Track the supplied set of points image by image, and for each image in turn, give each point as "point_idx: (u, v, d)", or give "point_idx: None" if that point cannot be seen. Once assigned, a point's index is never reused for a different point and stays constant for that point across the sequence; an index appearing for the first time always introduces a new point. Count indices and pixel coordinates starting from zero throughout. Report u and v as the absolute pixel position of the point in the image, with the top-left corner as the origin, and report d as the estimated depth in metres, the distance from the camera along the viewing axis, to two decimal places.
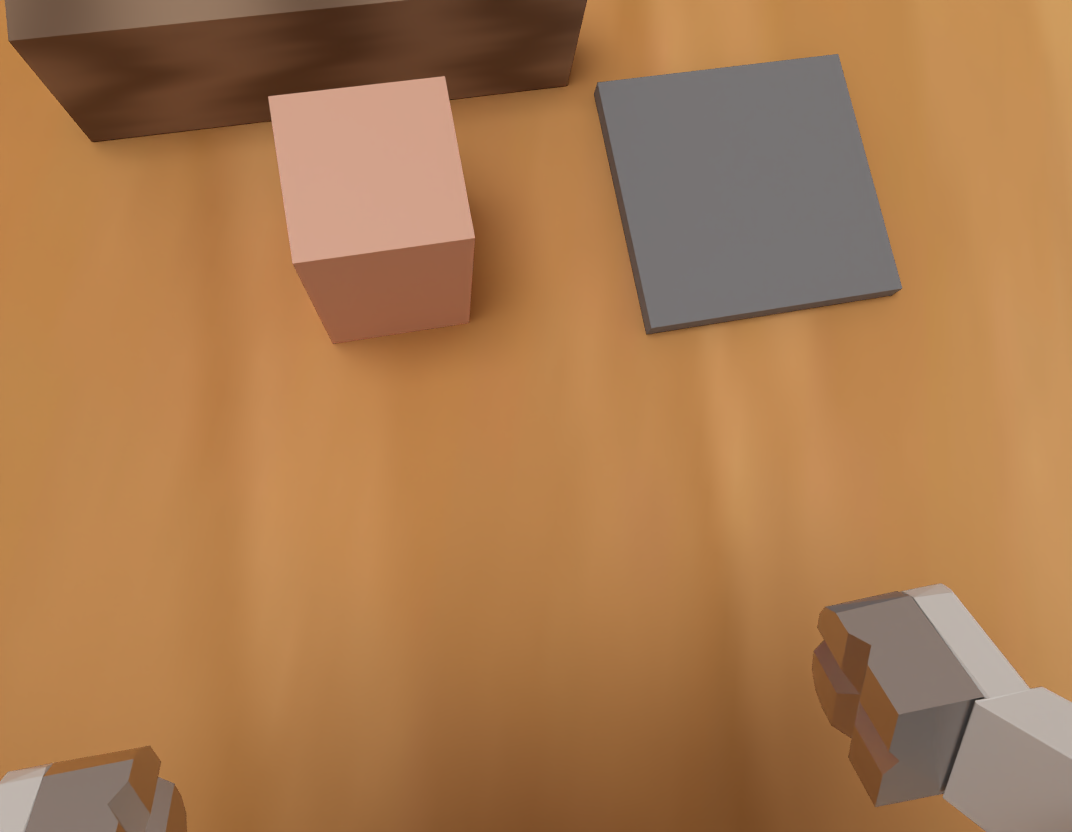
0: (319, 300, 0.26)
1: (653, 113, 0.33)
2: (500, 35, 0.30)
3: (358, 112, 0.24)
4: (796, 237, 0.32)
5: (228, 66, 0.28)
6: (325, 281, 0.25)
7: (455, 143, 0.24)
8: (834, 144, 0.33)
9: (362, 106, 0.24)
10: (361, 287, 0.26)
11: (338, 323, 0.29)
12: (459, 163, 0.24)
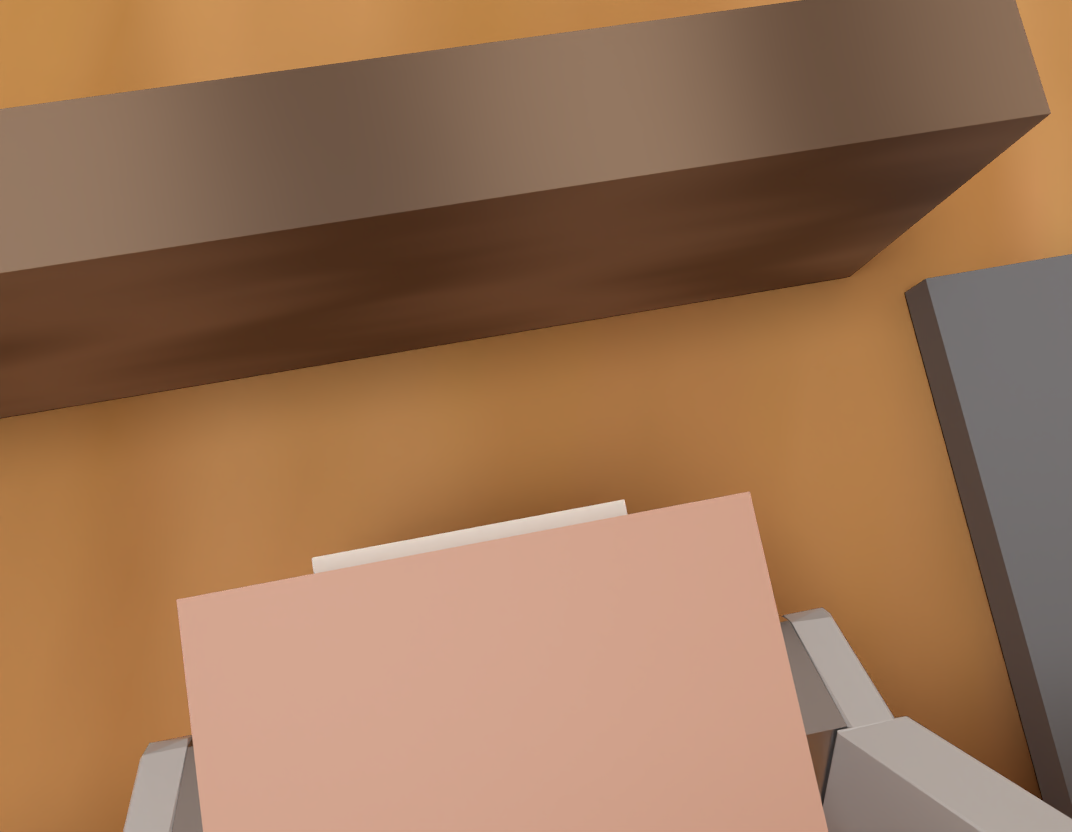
0: None
1: (1046, 342, 0.16)
2: (769, 223, 0.13)
3: (476, 641, 0.07)
4: None
5: (133, 327, 0.12)
6: None
7: (800, 739, 0.07)
8: None
9: (489, 618, 0.07)
10: None
11: None
12: (820, 817, 0.07)
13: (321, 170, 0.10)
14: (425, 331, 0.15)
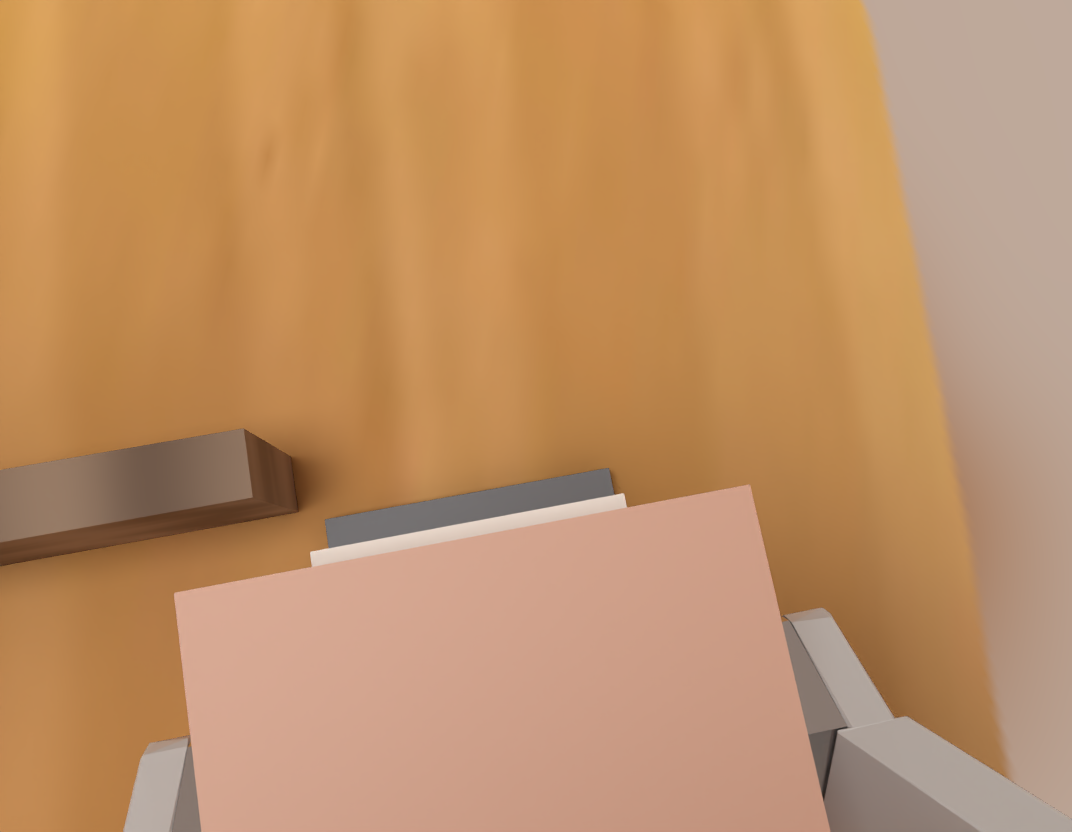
0: None
1: None
2: (177, 520, 0.26)
3: (475, 634, 0.07)
4: None
5: None
6: None
7: (801, 732, 0.07)
8: None
9: (488, 611, 0.07)
10: None
11: None
12: (820, 811, 0.07)
13: None
14: (40, 555, 0.28)
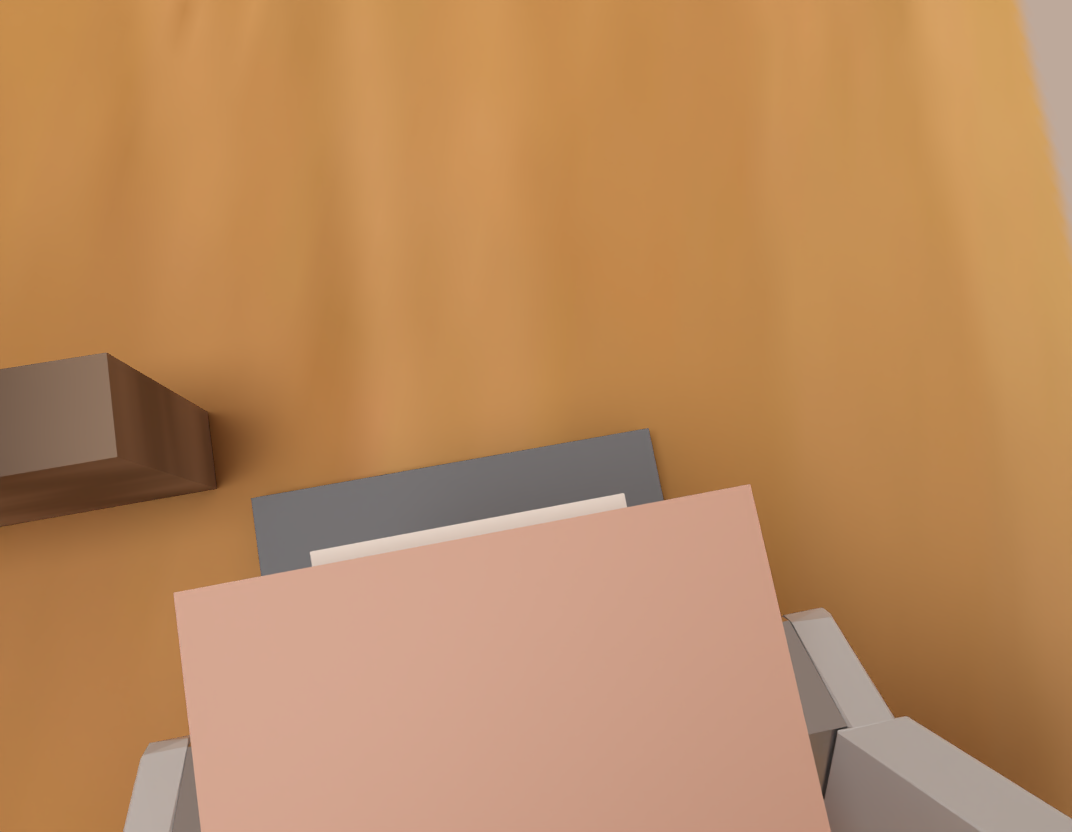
0: None
1: None
2: (20, 496, 0.18)
3: (475, 634, 0.07)
4: None
5: None
6: None
7: (801, 732, 0.07)
8: None
9: (488, 611, 0.07)
10: None
11: None
12: (821, 811, 0.07)
13: None
14: None
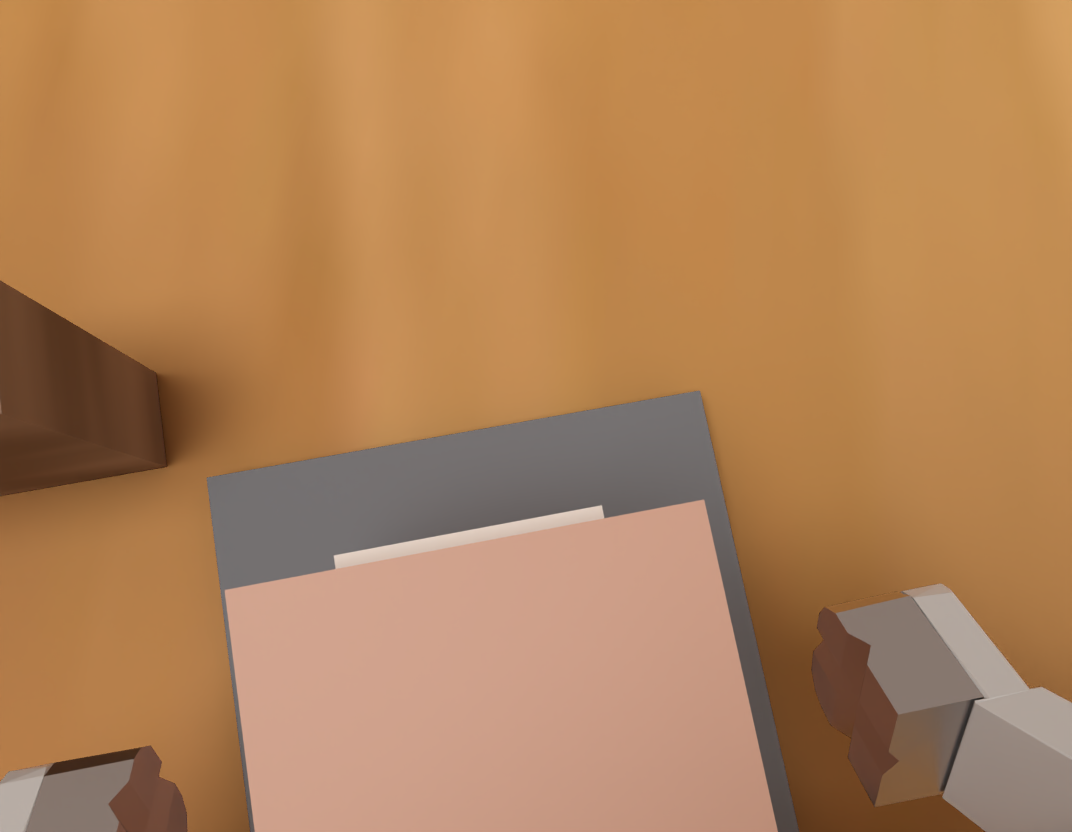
0: None
1: (317, 538, 0.16)
2: None
3: (474, 624, 0.09)
4: None
5: None
6: None
7: (744, 706, 0.09)
8: None
9: (485, 605, 0.09)
10: None
11: None
12: (760, 770, 0.08)
13: None
14: None
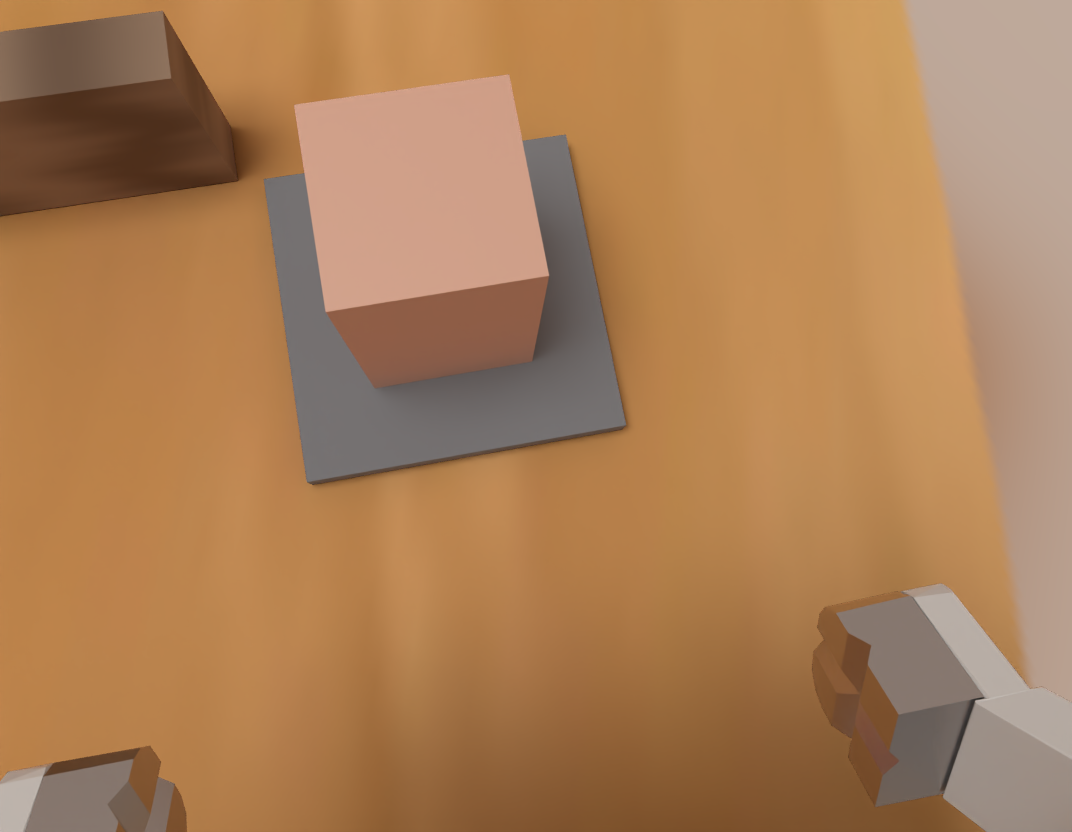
0: (358, 348, 0.22)
1: None
2: (98, 138, 0.24)
3: (404, 122, 0.19)
4: None
5: None
6: (365, 328, 0.20)
7: (523, 157, 0.19)
8: (553, 247, 0.28)
9: (408, 114, 0.20)
10: (408, 333, 0.21)
11: (381, 369, 0.24)
12: (528, 182, 0.19)
13: None
14: None
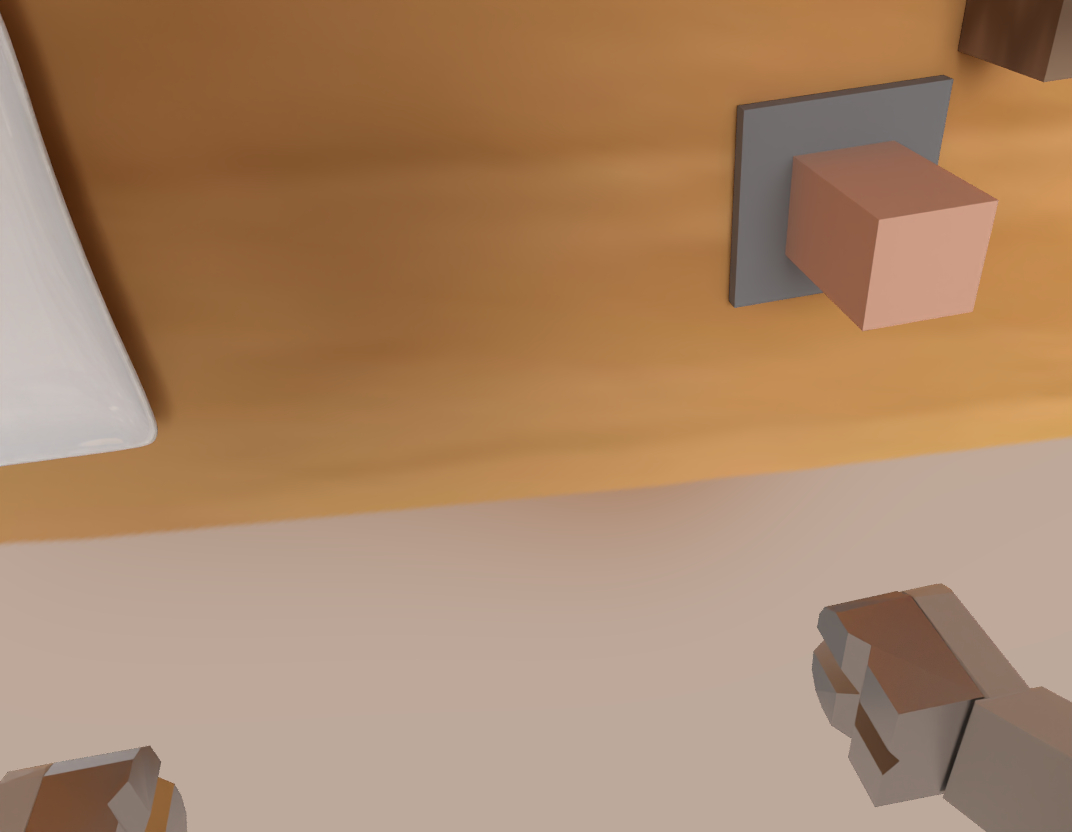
0: (840, 196, 0.36)
1: (914, 126, 0.40)
2: None
3: (967, 259, 0.35)
4: None
5: None
6: (856, 219, 0.35)
7: (926, 318, 0.36)
8: None
9: (970, 261, 0.35)
10: (843, 231, 0.36)
11: (813, 182, 0.38)
12: (913, 321, 0.36)
13: None
14: None
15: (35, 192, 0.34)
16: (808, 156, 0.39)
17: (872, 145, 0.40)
